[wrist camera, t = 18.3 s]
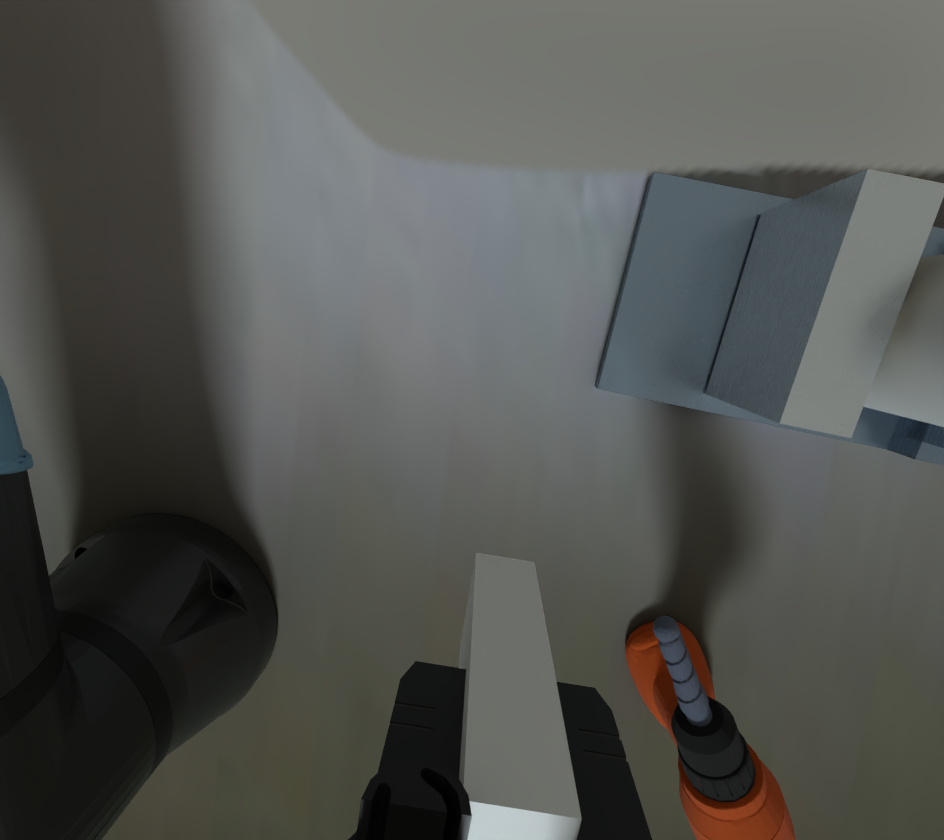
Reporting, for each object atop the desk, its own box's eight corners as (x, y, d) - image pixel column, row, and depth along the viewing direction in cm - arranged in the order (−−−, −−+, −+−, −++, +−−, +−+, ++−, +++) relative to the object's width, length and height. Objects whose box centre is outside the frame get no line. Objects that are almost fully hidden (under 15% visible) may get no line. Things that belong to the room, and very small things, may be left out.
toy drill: (632, 464, 29) (772, 662, 15) (714, 691, 35) (875, 994, 20) (555, 493, 30) (620, 707, 16) (647, 711, 35) (757, 1017, 21)
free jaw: (705, 393, 28) (779, 423, 21) (761, 212, 26) (867, 168, 18) (767, 406, 28) (865, 441, 21) (828, 225, 26) (964, 187, 18)
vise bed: (594, 386, 30) (630, 415, 21) (649, 177, 27) (715, 111, 19) (925, 455, 29) (1102, 514, 21) (1012, 248, 27) (1257, 215, 18)
